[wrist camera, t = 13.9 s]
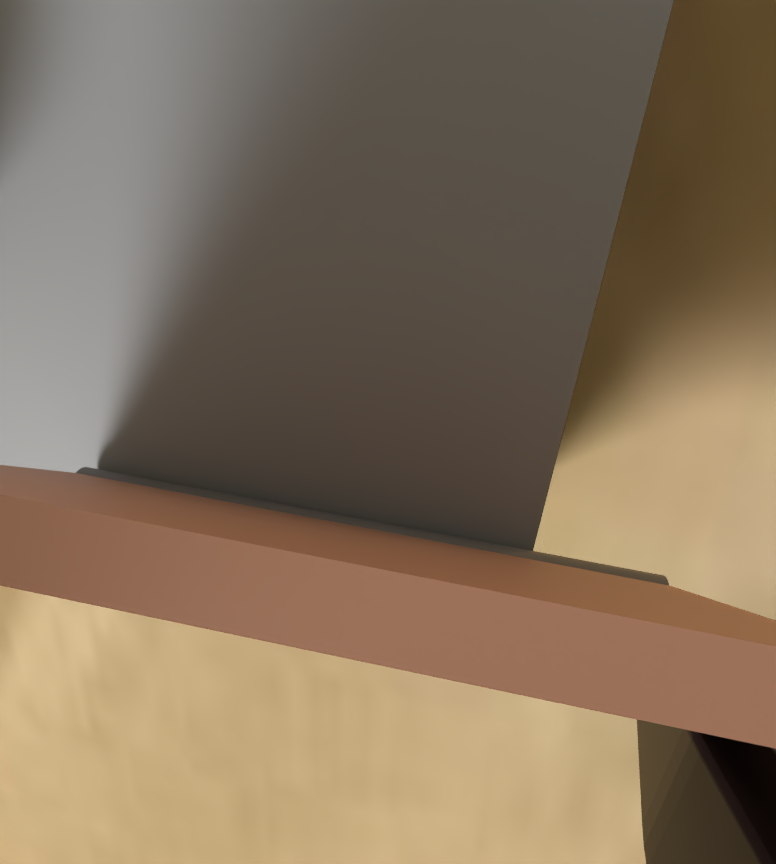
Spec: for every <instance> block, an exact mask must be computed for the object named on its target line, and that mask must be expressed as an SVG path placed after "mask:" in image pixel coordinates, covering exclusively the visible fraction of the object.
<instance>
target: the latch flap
mask: <svg viewBox="0 0 776 864" xmlns="http://www.w3.org/2000/svg"><path fill="white" fill-rule="evenodd" d="M0 585H1V586H6V587H11V588H15V589H20V590H25V591H30V592H34V593H39V594H44V595H49V596H53V597H58V598H63V599H68V600H72V601H77V602H82V603H87V604H91V605H96V606H101V607H106V608H110V609H115V610H120V611H125V612H129V613H134V614H139V615H144V616H148V617H153V618H158V619H163V620H167V621H172V622H177V623H182V624H186V625H191V626H196V627H201V628H205V629H210V630H215V631H220V632H224V633H229V634H234V635H239V636H243V637H248V638H253V639H258V640H262V641H267V642H272V643H277V644H281V645H286V646H291V647H296V648H300V649H305V650H310V651H315V652H319V653H324V654H329V655H334V656H338V657H343V658H348V659H353V660H357V661H362V662H367V663H372V664H376V665H381V666H386V667H391V668H395V669H400V670H405V671H410V672H414V673H419V674H424V675H429V676H433V677H438V678H443V679H448V680H452V681H457V682H462V683H467V684H471V685H476V686H481V687H486V688H490V689H495V690H500V691H505V692H509V693H514V694H519V695H524V696H528V697H533V698H538V699H543V700H547V701H552V702H557V703H562V704H566V705H571V706H576V707H581V708H585V709H590V710H595V711H600V712H604V713H609V714H614V715H619V716H623V717H628V718H633V719H638V720H642V721H647V722H652V723H657V724H661V725H666V726H671V727H676V728H680V729H685V730H690V731H695V732H699V733H704V734H709V735H714V736H718V737H723V738H728V739H733V740H737V741H742V742H747V743H752V744H756V745H761V746H766V747H771V748H775V749H776V621H775V620H772V619H769V618H766V617H763V616H760V615H757V614H754V613H751V612H748V611H745V610H742V609H739V608H736V607H733V606H730V605H727V604H724V603H721V602H718V601H714V600H711V599H708V598H705V597H702V596H699V595H696V594H693V593H690V592H687V591H684V590H681V589H678V588H675V587H672V586H669V583H668V580H667V578H666V577H665V576H662V575H657V574H652V573H646V572H641V571H636V570H631V569H625V568H620V567H615V566H609V565H604V564H599V563H593V562H588V561H583V560H578V559H572V558H567V557H562V556H556V555H551V554H546V553H540V552H535V551H530V550H525V549H519V548H514V547H509V546H503V545H498V544H493V543H487V542H482V541H477V540H471V539H466V538H461V537H456V536H450V535H445V534H440V533H434V532H429V531H424V530H418V529H413V528H408V527H403V526H397V525H392V524H387V523H381V522H376V521H371V520H365V519H360V518H355V517H350V516H344V515H339V514H334V513H328V512H323V511H318V510H312V509H307V508H302V507H296V506H291V505H286V504H281V503H275V502H270V501H265V500H259V499H254V498H249V497H243V496H238V495H233V494H228V493H222V492H217V491H212V490H206V489H201V488H196V487H190V486H185V485H180V484H175V483H169V482H164V481H159V480H153V479H148V478H143V477H137V476H132V475H127V474H121V473H116V472H111V471H106V470H100V469H95V468H90V467H83V468H81V469H79V470H78V471H77V472H76V473H72V472H63V471H53V470H44V469H35V468H26V467H16V466H7V465H0Z"/></svg>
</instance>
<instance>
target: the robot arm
mask: <svg viewBox="0 0 776 864" xmlns="http://www.w3.org/2000/svg"><path fill="white" fill-rule="evenodd" d="M637 731H638V750H639V769H640V789H641V808H642V827H643V841H644V850H645V858H646V864H776V749H775V748H771V747H766V746H761V745H756V744H752V743H747V742H742V741H737V740H733V739H728V738H723V737H718V736H714V735H709V734H704V733H699V732H695V731H690V730H685V729H680V728H676V727H671V726H666V725H661V724H657V723H652V722H647V721H642V720H638V719H637Z"/></svg>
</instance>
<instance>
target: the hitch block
mask: <svg viewBox="0 0 776 864" xmlns="http://www.w3.org/2000/svg"><path fill="white" fill-rule="evenodd" d="M673 1H674V0H0V465H7V466H16V467H26V468H35V469H44V470H53V471H63V472H72V473H76V472H77V471H78V470H79V469H81V468H83V467H90V468H95V469H100V470H106V471H111V472H116V473H121V474H127V475H132V476H137V477H143V478H148V479H153V480H159V481H164V482H169V483H175V484H180V485H185V486H190V487H196V488H201V489H206V490H212V491H217V492H222V493H228V494H233V495H238V496H243V497H249V498H254V499H259V500H265V501H270V502H275V503H281V504H286V505H291V506H296V507H302V508H307V509H312V510H318V511H323V512H328V513H334V514H339V515H344V516H350V517H355V518H360V519H365V520H371V521H376V522H381V523H387V524H392V525H397V526H403V527H408V528H413V529H418V530H424V531H429V532H434V533H440V534H445V535H450V536H456V537H461V538H466V539H471V540H477V541H482V542H487V543H493V544H498V545H503V546H509V547H514V548H519V549H525V550H530V551H533V548H534V544H535V540H536V536H537V532H538V528H539V524H540V521H541V517H542V513H543V509H544V505H545V501H546V497H547V493H548V489H549V485H550V482H551V478H552V474H553V470H554V466H555V462H556V458H557V454H558V450H559V446H560V443H561V439H562V435H563V431H564V427H565V423H566V419H567V415H568V411H569V407H570V403H571V400H572V396H573V392H574V388H575V384H576V380H577V376H578V372H579V368H580V364H581V361H582V357H583V353H584V349H585V345H586V341H587V337H588V333H589V329H590V325H591V321H592V318H593V314H594V310H595V306H596V302H597V298H598V294H599V290H600V286H601V282H602V279H603V275H604V271H605V267H606V263H607V259H608V255H609V251H610V247H611V243H612V239H613V236H614V232H615V228H616V224H617V220H618V216H619V212H620V208H621V204H622V200H623V197H624V193H625V189H626V185H627V181H628V177H629V173H630V169H631V165H632V161H633V158H634V154H635V150H636V146H637V142H638V138H639V134H640V130H641V126H642V122H643V118H644V115H645V111H646V107H647V103H648V99H649V95H650V91H651V87H652V83H653V79H654V76H655V72H656V68H657V64H658V60H659V56H660V52H661V48H662V44H663V40H664V36H665V33H666V29H667V25H668V21H669V17H670V13H671V9H672V5H673Z"/></svg>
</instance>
